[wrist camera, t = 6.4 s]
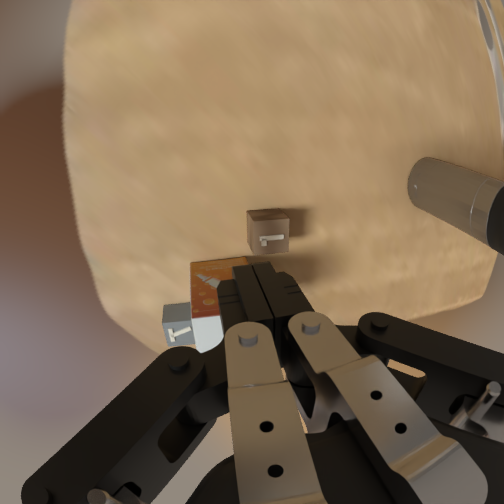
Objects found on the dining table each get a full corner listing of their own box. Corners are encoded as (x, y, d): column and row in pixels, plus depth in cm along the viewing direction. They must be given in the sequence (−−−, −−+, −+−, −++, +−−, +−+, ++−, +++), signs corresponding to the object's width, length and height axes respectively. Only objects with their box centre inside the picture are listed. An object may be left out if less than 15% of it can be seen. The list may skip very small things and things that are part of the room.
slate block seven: (192, 301, 43) (193, 320, 39) (196, 324, 45) (198, 344, 41) (163, 304, 42) (162, 324, 38) (168, 327, 44) (168, 347, 40)
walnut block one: (279, 208, 40) (290, 219, 35) (278, 238, 42) (288, 252, 37) (246, 210, 39) (253, 222, 35) (247, 241, 41) (254, 256, 37)
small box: (245, 255, 41) (268, 308, 30) (247, 292, 44) (268, 351, 33) (188, 261, 40) (190, 318, 29) (194, 299, 43) (198, 361, 31)
